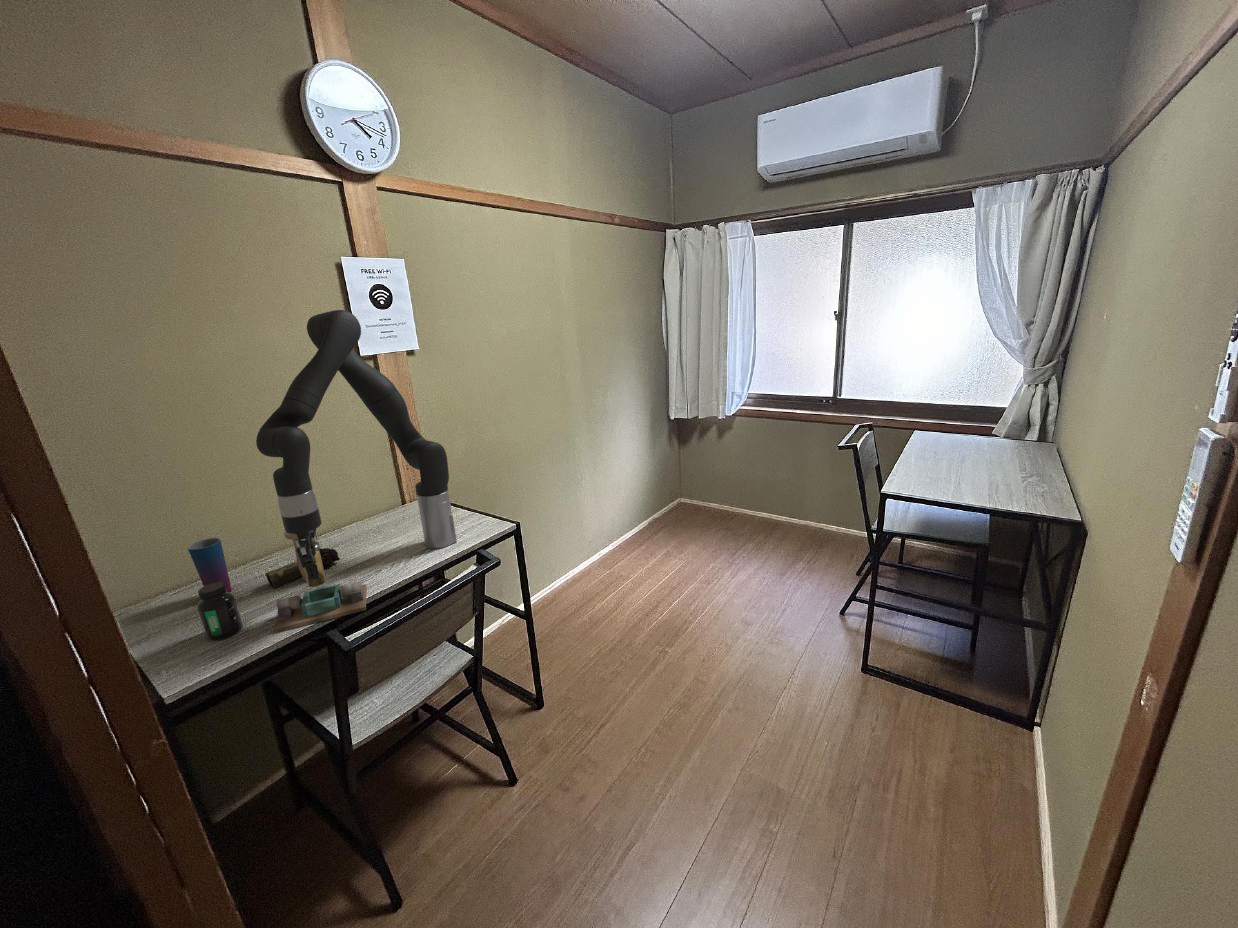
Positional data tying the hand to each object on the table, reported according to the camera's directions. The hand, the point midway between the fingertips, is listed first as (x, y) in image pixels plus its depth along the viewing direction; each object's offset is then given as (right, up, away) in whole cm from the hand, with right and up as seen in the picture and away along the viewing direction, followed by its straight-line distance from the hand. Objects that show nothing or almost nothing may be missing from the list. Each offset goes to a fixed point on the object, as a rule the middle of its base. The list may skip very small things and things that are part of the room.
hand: (315, 574), depth 123 cm
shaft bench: (+1, -9, +3) cm, 10 cm away
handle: (-12, -5, +18) cm, 22 cm away
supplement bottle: (-18, -13, -5) cm, 23 cm away
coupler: (0, -2, +1) cm, 2 cm away
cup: (-33, -8, +12) cm, 36 cm away
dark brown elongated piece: (-16, -5, +21) cm, 27 cm away
